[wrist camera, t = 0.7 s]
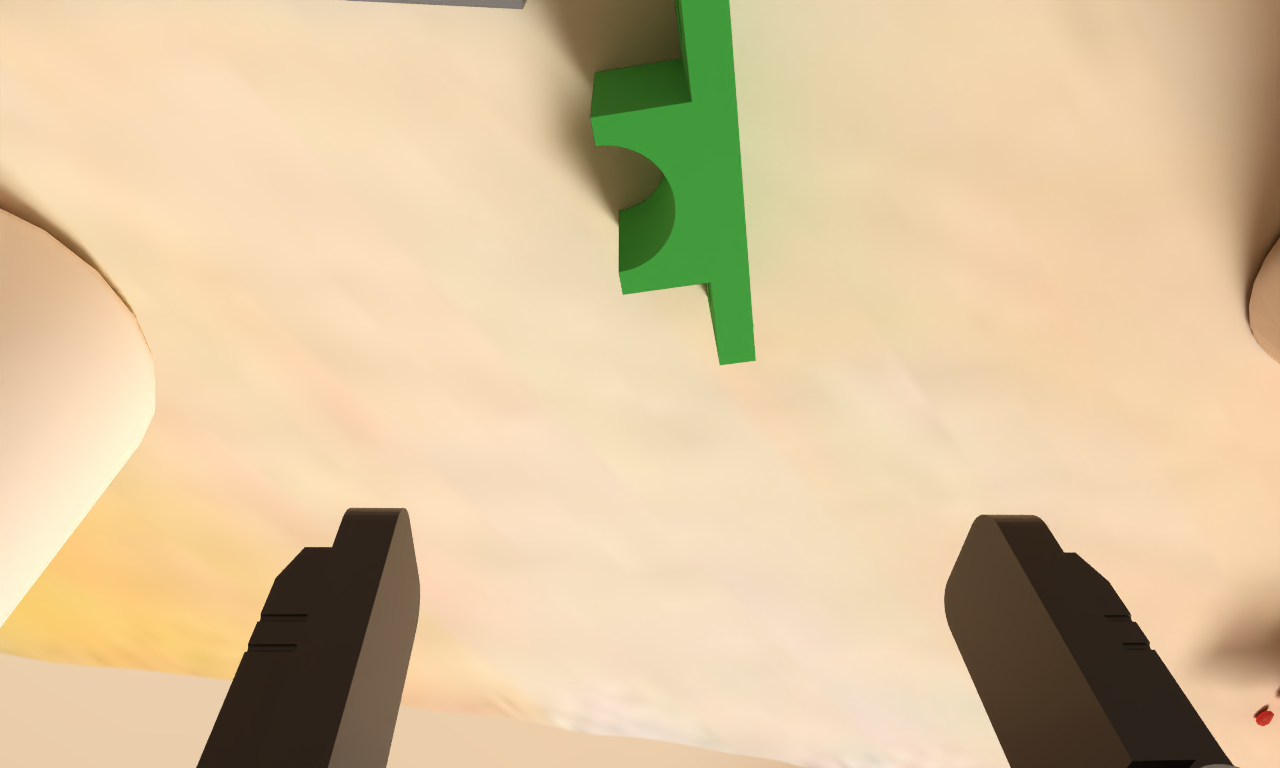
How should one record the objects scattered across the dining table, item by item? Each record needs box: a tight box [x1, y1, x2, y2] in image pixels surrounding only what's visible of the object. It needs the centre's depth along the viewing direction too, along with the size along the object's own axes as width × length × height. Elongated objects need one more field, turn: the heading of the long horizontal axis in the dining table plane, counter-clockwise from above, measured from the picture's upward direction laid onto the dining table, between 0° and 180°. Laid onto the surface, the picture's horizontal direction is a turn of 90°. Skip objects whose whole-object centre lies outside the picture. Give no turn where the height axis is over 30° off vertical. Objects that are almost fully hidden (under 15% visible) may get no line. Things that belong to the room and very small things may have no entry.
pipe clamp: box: [590, 0, 756, 365], centre depth 23 cm, size 11×4×5 cm, turn 8°
